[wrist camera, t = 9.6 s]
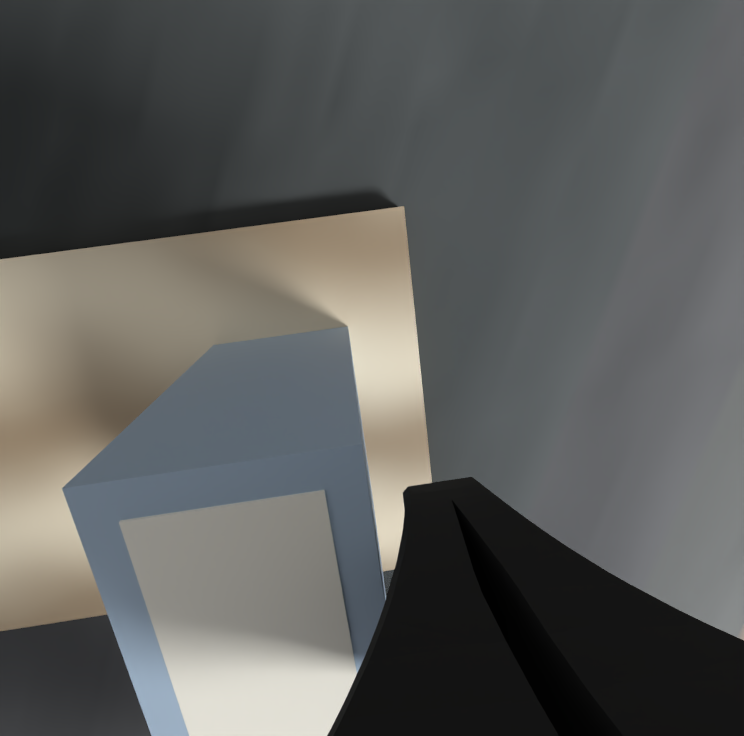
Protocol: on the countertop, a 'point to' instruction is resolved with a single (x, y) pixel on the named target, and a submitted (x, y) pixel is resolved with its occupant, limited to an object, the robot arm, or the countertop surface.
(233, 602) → the slab
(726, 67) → the countertop surface
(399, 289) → the board
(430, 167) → the countertop surface
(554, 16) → the countertop surface
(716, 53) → the countertop surface
